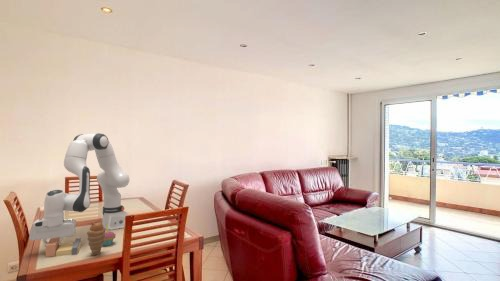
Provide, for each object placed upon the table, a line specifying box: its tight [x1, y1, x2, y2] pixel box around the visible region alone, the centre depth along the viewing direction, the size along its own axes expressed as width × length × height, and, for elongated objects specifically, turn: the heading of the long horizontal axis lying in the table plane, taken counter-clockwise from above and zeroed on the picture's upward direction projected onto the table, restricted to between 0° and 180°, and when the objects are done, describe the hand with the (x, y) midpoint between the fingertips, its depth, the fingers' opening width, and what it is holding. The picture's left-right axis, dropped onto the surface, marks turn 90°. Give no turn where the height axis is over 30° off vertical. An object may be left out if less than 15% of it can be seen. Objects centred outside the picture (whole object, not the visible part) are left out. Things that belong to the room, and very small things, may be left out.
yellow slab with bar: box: [55, 237, 82, 257], centre depth 148 cm, size 10×15×4 cm
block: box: [45, 237, 61, 258], centre depth 144 cm, size 4×12×6 cm, turn 26°
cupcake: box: [103, 225, 117, 247], centre depth 158 cm, size 9×8×12 cm
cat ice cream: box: [86, 219, 106, 256], centre depth 144 cm, size 9×8×18 cm
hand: (53, 245), depth 144 cm, fingers closed on block, 4 cm apart
